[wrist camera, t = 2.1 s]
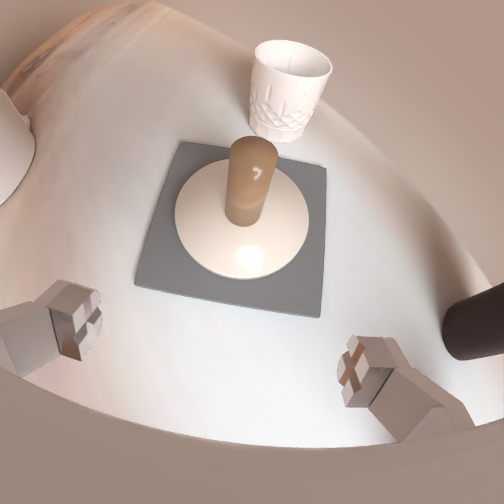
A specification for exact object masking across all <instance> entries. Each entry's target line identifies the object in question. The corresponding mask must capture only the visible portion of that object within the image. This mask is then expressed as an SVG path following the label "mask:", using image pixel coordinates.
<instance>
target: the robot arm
mask: <svg viewBox="0 0 504 504" xmlns="http://www.w3.org/2000/svg"><path fill="white" fill-rule="evenodd" d="M34 151H35V139H34V136H33V135H32V133H31V132H30V119H29V117H28V116H27V115H23V116H21V115H20V114H19V112H18V111H17V109H16V108H15V106H14V105H13V103H12V102H11V100H10V99H9V97H8V96H7V94H6V93H5V91H4V90H3V89H0V205H1V204H2V203H3V202H4V201H5V200H6V199H7V198H8V197H9V196H10V195H11V194H12V193H13V191H14V190H15V189H16V187H17V186H18V185H19V183H20V182H21V180H22V179H23V177H24V176H25V174H26V172H27V170H28V168H29V166H30V164H31V161H32V159H33V156H34ZM100 302H101V299H100V293H99V292H98V290H96V289H92V288H89V287H85V286H82V285H79V284H75V283H72V282H68V281H65V280H57V281H56V282H55V283H54V284H53V285H52V286H51V287H50V288H48V289H47V290H46V291H45V292H44V293H43V294H42V295H41V296H40V297H39V298H38V299H36V300H35V301H34V302H31V301H29V302H26V303H22V304H19V305H16V306H13V307H9V308H6V309H3V310H0V504H504V418H502V419H499V420H496V421H493V422H490V423H487V424H483V425H480V426H475V425H474V423H473V421H472V419H471V417H470V415H469V413H468V412H467V410H466V408H465V406H464V404H463V403H462V402H461V401H459V400H458V399H456V398H455V397H454V396H452V395H451V394H449V393H448V392H447V391H445V390H444V389H443V388H441V387H440V386H438V385H437V384H436V383H434V382H433V381H431V380H430V379H429V378H427V377H426V376H424V375H423V374H422V373H420V372H419V371H417V370H416V369H415V368H410V366H409V364H408V362H407V360H406V358H405V357H404V355H403V353H402V351H401V350H400V348H399V346H398V344H397V342H396V341H395V339H393V338H389V337H366V336H354V335H352V337H351V338H350V339H349V341H348V343H347V348H348V351H347V352H346V353H344V354H343V355H342V356H341V358H340V360H339V363H338V368H337V377H338V381H339V383H340V384H341V385H342V386H344V388H343V390H342V396H343V399H344V403H345V407H365V408H368V409H369V410H370V411H371V412H372V413H373V414H374V415H375V417H376V418H377V419H378V420H379V421H380V422H381V423H382V424H383V425H384V426H385V428H386V429H387V430H388V431H389V432H390V433H391V434H392V435H393V436H394V437H395V438H396V440H397V441H398V443H390V444H381V445H371V446H358V447H338V448H293V447H273V446H260V445H249V444H240V443H232V442H224V441H217V440H211V439H205V438H199V437H194V436H189V435H184V434H179V433H174V432H170V431H165V430H161V429H157V428H153V427H149V426H145V425H142V424H138V423H134V422H131V421H128V420H124V419H121V418H118V417H115V416H111V415H108V414H105V413H102V412H100V411H97V410H94V409H91V408H88V407H86V406H83V405H81V404H78V403H75V402H73V401H70V400H68V399H66V398H63V397H61V396H58V395H56V394H54V393H52V392H49V391H47V390H45V389H43V388H41V387H39V386H37V385H34V384H32V383H30V382H28V381H26V380H24V379H23V378H22V377H24V376H25V375H27V374H29V373H31V372H32V371H34V370H36V369H38V368H39V367H41V366H43V365H45V364H46V363H48V362H50V361H52V360H53V359H55V358H57V357H59V356H60V354H61V355H64V356H67V357H70V358H73V359H76V360H79V361H83V359H84V358H85V356H86V355H87V353H88V351H89V350H90V342H93V341H95V340H96V339H97V338H98V336H99V335H100V331H101V328H102V320H103V319H102V313H101V311H100V310H99V308H98V307H97V306H98V305H99V304H100Z"/></svg>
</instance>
